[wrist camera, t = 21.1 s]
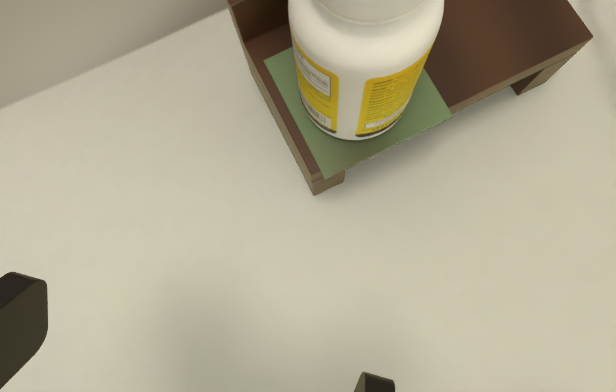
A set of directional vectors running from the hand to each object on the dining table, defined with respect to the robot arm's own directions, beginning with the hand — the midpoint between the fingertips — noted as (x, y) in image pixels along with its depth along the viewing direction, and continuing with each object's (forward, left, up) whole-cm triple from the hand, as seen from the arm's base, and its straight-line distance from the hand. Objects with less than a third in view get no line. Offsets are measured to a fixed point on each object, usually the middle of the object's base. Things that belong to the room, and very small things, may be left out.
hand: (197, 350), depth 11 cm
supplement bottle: (-4, +11, -9) cm, 15 cm away
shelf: (-4, +16, -14) cm, 22 cm away
